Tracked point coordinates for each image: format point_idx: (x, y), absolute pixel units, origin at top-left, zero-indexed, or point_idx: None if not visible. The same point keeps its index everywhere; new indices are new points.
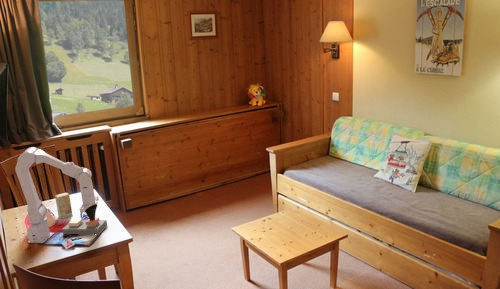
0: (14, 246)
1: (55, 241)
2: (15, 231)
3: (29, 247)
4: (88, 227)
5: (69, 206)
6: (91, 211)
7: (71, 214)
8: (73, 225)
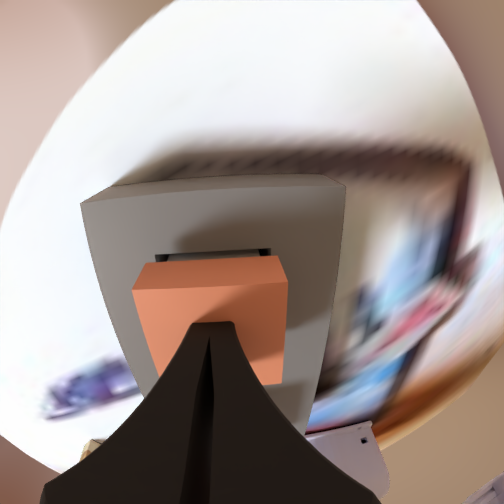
0: None
1: (368, 394)
2: None
3: (390, 427)
4: (291, 310)
5: None
6: (326, 469)
7: (93, 444)
8: None
